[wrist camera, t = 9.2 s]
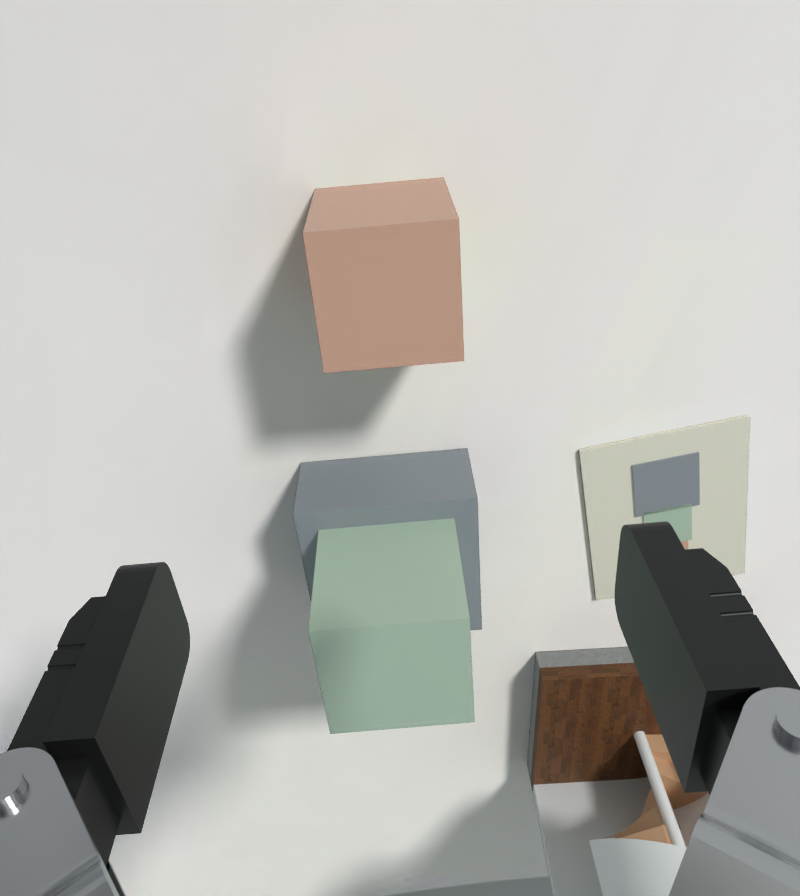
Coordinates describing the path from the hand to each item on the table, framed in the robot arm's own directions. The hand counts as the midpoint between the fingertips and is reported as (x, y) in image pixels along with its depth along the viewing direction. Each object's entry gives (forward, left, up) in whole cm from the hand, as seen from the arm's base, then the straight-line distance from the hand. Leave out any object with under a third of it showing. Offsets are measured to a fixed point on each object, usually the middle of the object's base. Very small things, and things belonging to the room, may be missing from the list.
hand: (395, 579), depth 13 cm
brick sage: (+14, -1, -16) cm, 21 cm away
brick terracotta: (0, 0, -20) cm, 20 cm away
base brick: (+14, -1, -20) cm, 24 cm away
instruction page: (+15, +13, -20) cm, 28 cm away
